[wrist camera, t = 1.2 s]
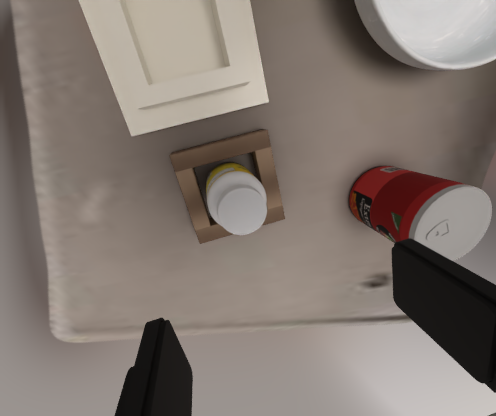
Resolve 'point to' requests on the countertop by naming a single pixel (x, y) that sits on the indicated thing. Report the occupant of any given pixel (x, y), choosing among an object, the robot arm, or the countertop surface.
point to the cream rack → (177, 58)
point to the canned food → (422, 209)
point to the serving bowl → (433, 31)
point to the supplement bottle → (236, 198)
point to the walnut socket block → (219, 151)
